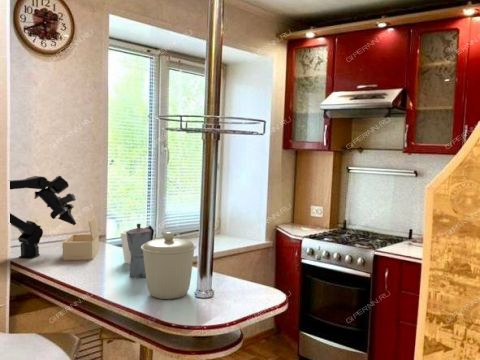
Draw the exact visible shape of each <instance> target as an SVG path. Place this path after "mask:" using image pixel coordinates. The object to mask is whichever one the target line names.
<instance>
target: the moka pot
mask: <svg viewBox="0 0 480 360" xmlns="http://www.w3.org/2000/svg"><path fill="white" fill-rule="evenodd" d="M141 225H142V224H141V223H137V224H136V227H135V228H132V229H128V230H129V231H127V230H126V231H127V232H126V235H127V241H128V246H129V251H130V254H131V262H130V264H129V277H131V278H136V279H138V278H139V279H141V278H142V279H143V278H146V273H145V264H144V255H143V250H142V249H141V246H142V245H144V244H145V243H146V242H148V241H151V240H154V235H155V230H154V228H153V227H152V225H148V226H147V227H141Z"/></svg>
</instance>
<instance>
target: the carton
mask: <svg viewBox="0 0 480 360" xmlns="http://www.w3.org/2000/svg"><path fill="white" fill-rule="evenodd" d="M99 251H100V233H99V234H98V235H97V236H96V237H95V238H94V239H93V240H92V237H91V233H78V234H77V233H74V234H71V235H70V236H68V237H67V238H66V239H64V241H63V242H62V259H63V261H64V262H65V261H93V260H94V258H95V257H96V255H98V253H99Z"/></svg>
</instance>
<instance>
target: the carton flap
mask: <svg viewBox="0 0 480 360" xmlns="http://www.w3.org/2000/svg"><path fill="white" fill-rule="evenodd" d="M88 227H89V231H90V234H91V237H92V240H93V239H94V238H95V237H96V236H97V235H98V234H99V235H100V233H99V227H98V223H97V217H96V215H95V216H93V217H92V218H90V220H89V221H88Z"/></svg>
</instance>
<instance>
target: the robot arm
mask: <svg viewBox="0 0 480 360" xmlns="http://www.w3.org/2000/svg"><path fill="white" fill-rule="evenodd" d="M9 181H10V190H18V189H19V190H21V189H34V190H35V191H34V200H36V199H38V198H40V199H41V200H42V201H43V202H44V203H45V204H46V207H47V208H49V209H51V210H52V211H51V212H50V213H49V216H50V217H51V218H52V219H53V220H55V219H58V220H60V221H63V222H66V223H68V224H71V225H73V226H75V225H77V222H76V220H75V218H74V216H73V214H72V209H74V207H75V206H74V205H73V204H72V203H71V202H74V201H76V195H74V193H71V192H69V193H66V196H63V197H61V196H58V195H59V194H61V193H63V192H64V191H65V190H66V189H67V188H69V183H68V181H66V179H65V178H63V177H62V175H57V176H55V178H54V179H52V180H51V181H50V180H48V178H46V176H39V175H34V176H33V175H32V176H31V177H26V178H23V179H13V180H9ZM36 190H39V191H36ZM9 213H10V212H9ZM57 216H59V217H58V218H57ZM10 223H11V225H10V226H13V227H14V228H15V229H17V230H18V232H20V233H21V234H20V235H19V236H18V238H17V239H18V242H19V243H20V255H19V256H18V258H19V259H20V258H23V259H33V258H36V257H38V256H40V255H41V254H40V247H39V245H38V244H39V243H40V241H41V238H42V237H43V235H44V232H43V231H44V230H43V228H42V226H41V225H38V224H37V223H36V222H34V221H32V220H31V221H30V220H26V221H24V220H22V219H21V218H19V217H17V216H16V215H14V214H13V213H10Z"/></svg>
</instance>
